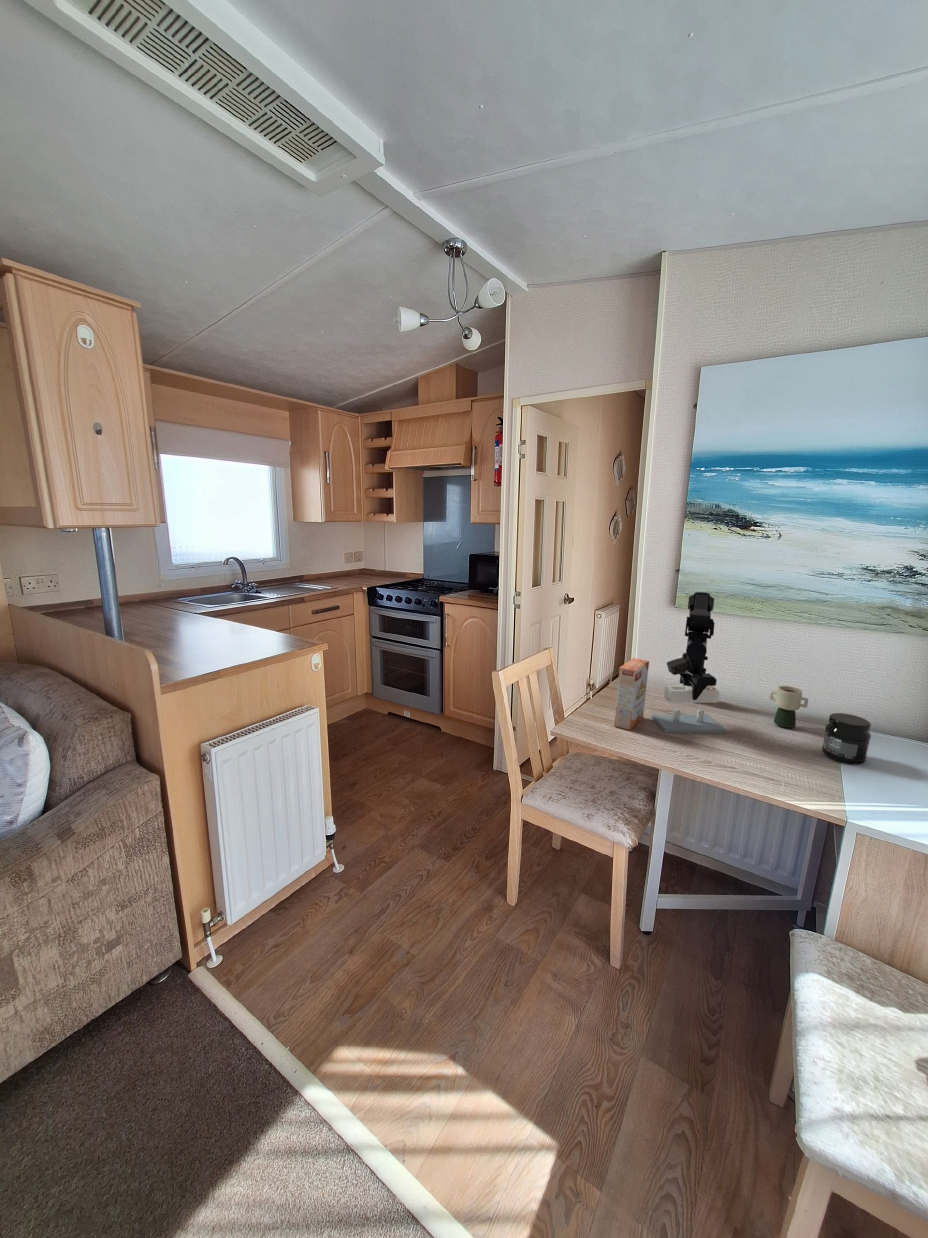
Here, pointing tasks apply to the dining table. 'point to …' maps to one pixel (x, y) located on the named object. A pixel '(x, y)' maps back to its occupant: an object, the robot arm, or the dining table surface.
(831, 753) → the supplement container
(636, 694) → the cracker box
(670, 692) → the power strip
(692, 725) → the stud board
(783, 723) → the character mug
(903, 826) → the dining table surface
